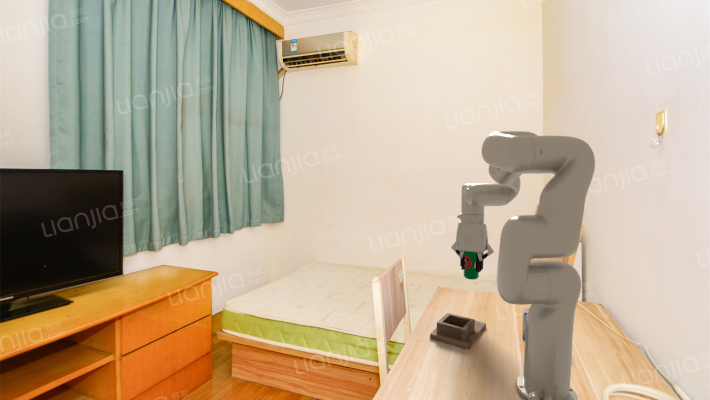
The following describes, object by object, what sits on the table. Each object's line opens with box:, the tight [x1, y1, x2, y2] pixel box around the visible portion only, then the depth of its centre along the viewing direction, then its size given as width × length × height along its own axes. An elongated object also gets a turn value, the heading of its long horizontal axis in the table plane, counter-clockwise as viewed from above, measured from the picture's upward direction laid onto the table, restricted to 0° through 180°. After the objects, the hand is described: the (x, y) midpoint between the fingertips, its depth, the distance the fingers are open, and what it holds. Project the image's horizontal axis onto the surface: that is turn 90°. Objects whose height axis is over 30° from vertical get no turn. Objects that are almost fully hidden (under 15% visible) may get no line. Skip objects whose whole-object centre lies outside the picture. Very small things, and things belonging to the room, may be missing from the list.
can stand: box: [429, 312, 487, 351], centre depth 111 cm, size 18×12×5 cm, turn 144°
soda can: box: [463, 251, 480, 280], centre depth 121 cm, size 5×5×12 cm
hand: (471, 269), depth 121 cm, fingers closed on soda can, 4 cm apart
